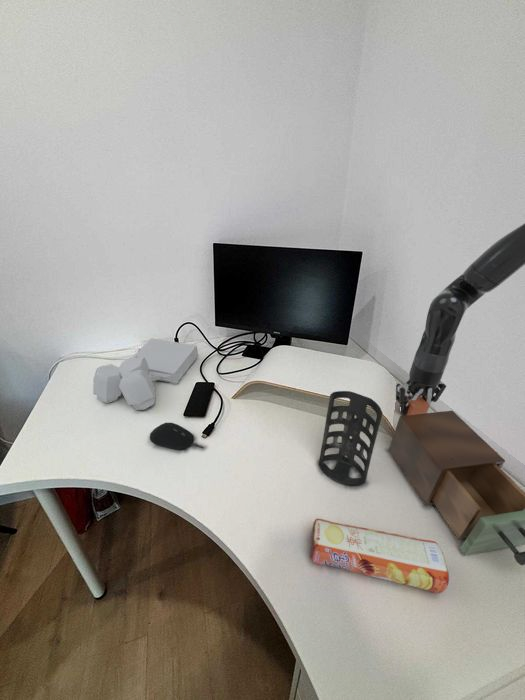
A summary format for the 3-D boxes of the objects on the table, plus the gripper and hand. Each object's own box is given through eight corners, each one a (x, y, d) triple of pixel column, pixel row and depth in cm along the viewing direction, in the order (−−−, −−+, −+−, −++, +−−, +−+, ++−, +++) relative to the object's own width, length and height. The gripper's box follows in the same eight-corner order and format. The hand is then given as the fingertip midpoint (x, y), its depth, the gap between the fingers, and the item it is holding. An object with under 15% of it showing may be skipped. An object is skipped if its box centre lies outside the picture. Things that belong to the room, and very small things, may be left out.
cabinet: (482, 497, 63) (505, 460, 57) (424, 505, 61) (442, 469, 55) (437, 444, 75) (452, 410, 69) (388, 450, 73) (399, 415, 68)
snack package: (308, 567, 51) (312, 547, 48) (311, 529, 57) (315, 508, 53) (440, 601, 47) (455, 581, 44) (429, 556, 53) (441, 536, 49)
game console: (200, 355, 109) (194, 326, 101) (151, 420, 84) (139, 388, 77) (153, 347, 113) (145, 319, 106) (94, 407, 89) (77, 375, 81)
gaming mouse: (197, 457, 71) (195, 446, 69) (145, 442, 75) (142, 431, 73) (208, 438, 76) (207, 427, 74) (160, 425, 80) (157, 414, 78)
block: (414, 407, 88) (418, 394, 85) (424, 418, 84) (429, 405, 81) (398, 408, 87) (402, 395, 85) (408, 420, 83) (413, 406, 80)
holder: (314, 475, 66) (327, 403, 58) (319, 453, 73) (332, 385, 65) (364, 492, 63) (386, 417, 55) (365, 467, 70) (385, 397, 61)
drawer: (550, 574, 50) (582, 544, 45) (486, 587, 48) (512, 557, 43) (469, 480, 65) (486, 450, 60) (418, 487, 64) (432, 457, 59)
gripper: (412, 373, 72) (396, 424, 81) (464, 369, 74) (442, 419, 83) (396, 358, 79) (382, 406, 87) (443, 354, 81) (425, 402, 89)
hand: (411, 412), depth 85 cm, fingers closed on block, 5 cm apart
